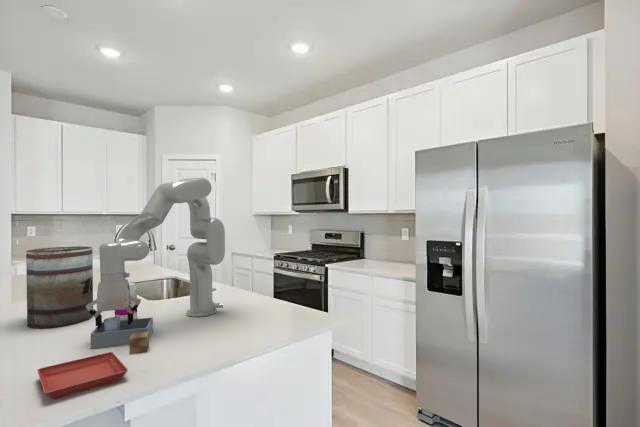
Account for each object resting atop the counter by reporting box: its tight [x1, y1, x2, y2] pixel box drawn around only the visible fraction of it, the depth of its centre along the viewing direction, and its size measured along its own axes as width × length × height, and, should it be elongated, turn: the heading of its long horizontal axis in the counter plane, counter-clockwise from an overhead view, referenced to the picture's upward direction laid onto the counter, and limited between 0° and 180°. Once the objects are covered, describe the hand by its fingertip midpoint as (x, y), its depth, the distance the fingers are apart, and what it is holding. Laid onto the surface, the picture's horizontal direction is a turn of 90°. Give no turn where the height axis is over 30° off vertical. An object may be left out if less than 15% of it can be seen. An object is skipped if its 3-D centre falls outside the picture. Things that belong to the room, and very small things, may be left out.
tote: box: [90, 317, 154, 350], centre depth 127 cm, size 17×13×5 cm
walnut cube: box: [128, 332, 150, 355], centre depth 117 cm, size 5×5×5 cm
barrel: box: [25, 245, 94, 330], centre depth 150 cm, size 22×22×30 cm
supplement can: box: [114, 282, 138, 320], centre depth 150 cm, size 8×8×15 cm
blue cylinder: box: [103, 316, 120, 332], centre depth 126 cm, size 5×5×7 cm
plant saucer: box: [36, 351, 129, 400], centre depth 96 cm, size 18×18×3 cm
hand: (115, 325), depth 126 cm, fingers open, 9 cm apart
